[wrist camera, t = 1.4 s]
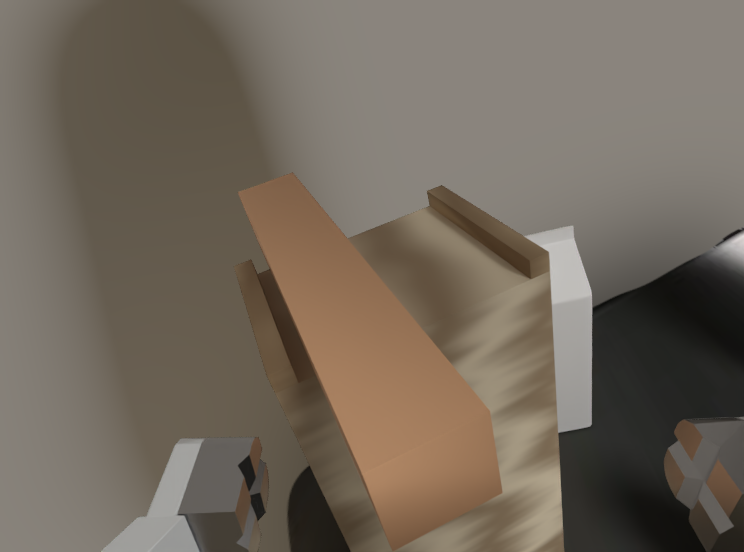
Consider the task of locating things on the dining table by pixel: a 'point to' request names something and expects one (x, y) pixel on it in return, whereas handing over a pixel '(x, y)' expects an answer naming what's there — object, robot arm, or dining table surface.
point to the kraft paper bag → (462, 349)
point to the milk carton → (570, 327)
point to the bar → (376, 370)
